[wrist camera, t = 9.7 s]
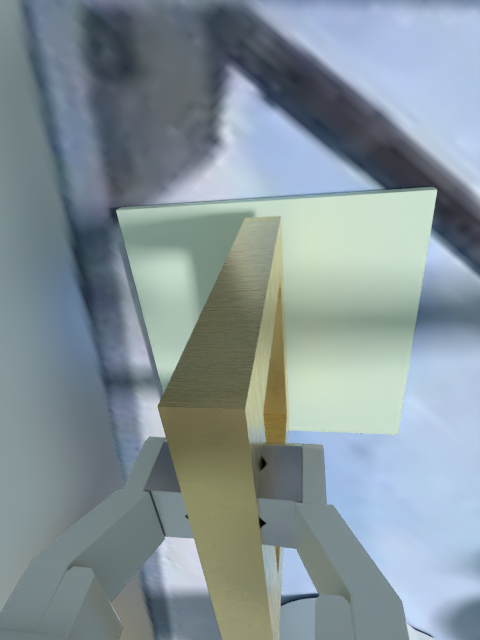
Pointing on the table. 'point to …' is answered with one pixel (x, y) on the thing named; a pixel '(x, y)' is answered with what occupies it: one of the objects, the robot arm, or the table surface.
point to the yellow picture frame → (234, 429)
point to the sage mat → (301, 292)
